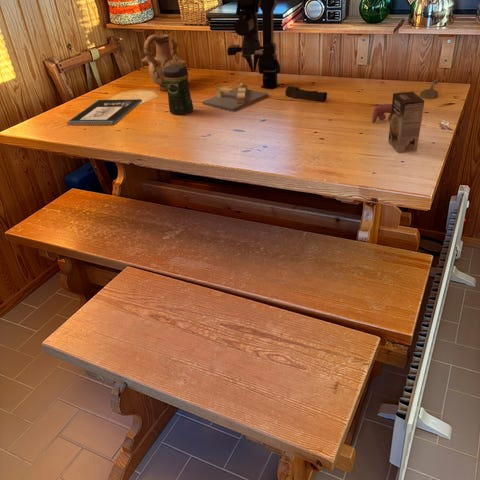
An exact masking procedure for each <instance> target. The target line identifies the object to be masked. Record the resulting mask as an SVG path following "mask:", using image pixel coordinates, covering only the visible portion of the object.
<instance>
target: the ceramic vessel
mask: <svg viewBox="0 0 480 480" xmlns="http://www.w3.org/2000/svg"><path fill="white" fill-rule="evenodd" d="M153 41H154V43H155V49H156V54H155V55H154V54H153V52H151V50H150V49H151V45H152V43H153ZM178 46H179V43H178V41H175V40H174V39H173V38H171V48H170V35H169V34H165V33H164V34H163V33H162V34H150V35H149V36H148V37H147V38H146V39H145V42H144V44H143V52H144V54H145V57H144V58H142V59H141V62H142V63H146V64H148V73H149V76H150V79H151V81H152V82H153V83H154V84H156V85H158V86H159V89H160V90H162V91H167V86H166V82H165V80H164V76H163V69H164V68H165V67H167V66H186V65H187V61H186V60H184V59H183V58H182V55H180V53H179V52H178Z"/></svg>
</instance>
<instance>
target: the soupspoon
mask: <svg viewBox="0 0 480 480" xmlns="http://www.w3.org/2000/svg"><path fill="white" fill-rule="evenodd" d="M437 83H439V80H438V79H434V80H433V82H432V84H431V86H430V88H428V89H424V90H422V91H421V92H420V93H419V97H420V98H421V99H423V100H424V99H425V100H435V99H437V97H438V95H439V92H438V91H437V90H436V89H434V85H435V84H437Z"/></svg>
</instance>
